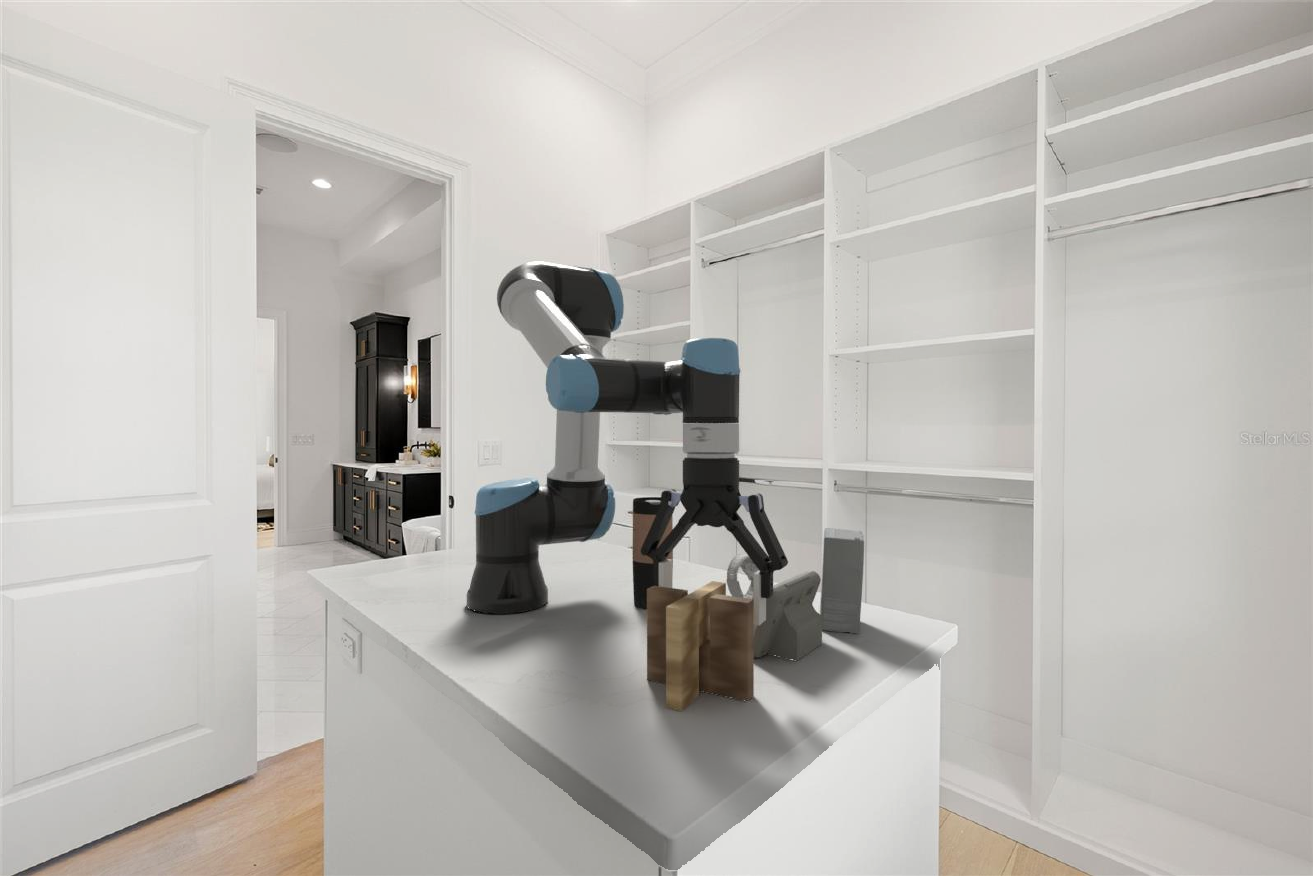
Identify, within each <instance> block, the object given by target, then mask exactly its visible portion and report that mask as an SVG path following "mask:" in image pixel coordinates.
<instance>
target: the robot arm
mask: <svg viewBox="0 0 1313 876" xmlns="http://www.w3.org/2000/svg"><path fill="white" fill-rule="evenodd" d="M496 302H497V306H498V310H499V313H500V314H501V317H502V318H503V319H504V321H505V322H506V323H507V324H508V325H509V327H511V328H513V329H515V330H516V331H519V332H521V333H520V334H522V335H523V337H524V339H526V341H527V343H528V344H529V345H530V347H531V348H532V349H533V351H534V352H535V353H536V355H537V356H538V357H539V359H540V361H541V362H542V363H543V364H544V366H545V367H546V368H547V370H546V375H545V391H546V394H547V400H548V402H549V404H550V405H551V407H552V408H554V409H555V410H556V420H555V421H556V422H555V425H556V427H555V451H554V452H555V453H554V454H555V456H554V466H553V468H552V469H551V470H550V471H549V472H547V474H546V484H545V485H544V484H543V485H542V484H541V485H540V482H539V481H538V479H537V478H531V477H529V478H521V479H520V478H519V479H517V478H516V479H509V480H504V481H498V482H493V483H489V484H485V485H484V486H482V487H480V489H479V490H478V491H477V493H476V495H475V496H476V498H475V499H476V500H475V510H474V515H475V555H476V556H475V566H474V569H473V574H472V577H471V581H470V584H469V588H468V589H467V592H466V607H467V606H468V607H469V608H470V609H473V610H475V611H479V612H478V613H480V612H485V613H484V614H488V613H494V614H493V615H505V613H508V614H515V613H517V612H518V613H523V612H522V611H524V612H528V611H527V610H529V611H532V610H531V609H533V610H535V609H538V607H539V608H541V607H543V606H544V605H543V604H545V605H546V604H547V603H548V602H549V590H548V589H549V588H548V586H547V584H546V582H545V578H544V575H543V571H542V568H541V565H540V560H539V559H540V558H539V556H540V555H539V548H540V546H544V545H555V544H565V543H574V542H580V543H585V542H588V541H593V540H597V539H598V540H599V539H600V538H602V537H604V536H605V535H606V534H607V533H608V531H609V530H610V529H611V526H612V524H613V522H614V518H615V512H616V497H614V495H615V492H614V490H613V488H612V486H611V485H610V484H609V483H608V482H606V475H605V474H604V473H603V472H602V471H601V470H600V468H599V450H600V449H599V446H600V445H599V443H600V427H601V426H600V421H601V413H631V414H632V413H634V414H637V413H638V414H653V415H664V416H667V415H671V414H680V413H681V414H682V452H683V454H686V456H687V457H684V458H683V459H682V485H683V486H682V487H683V489H682V492H681V491H680V492H679V491H677V490H676V489H667V490H664V491H663V490H662V492H661V495H660V497H661V503H660V508H659V510H658V512H657V515H656V517H655V519H654V521H653V523H652V526H651V528H650V530H649V532H648V534H647V537H646V539H645V541H644V543H643V545H642V548H641V554H642V555H644V556H648V557H650V558H651V559H652V560H653V572H654V573H653V575H654V576H653V580H654V583H655V584H659V586H660V587H668V588H673V575H672V560H671V559H667V560H666V558H667V557H669V556H668V555H669V554H670V552H671V551H672V550H673V551H674V549H675V548H676V547H677V546H678V544H679V543H680V542H681V540H682V539H683V538H684V536H685V535H687V533H688V532H689V530H690V529H692V527H693V526H694V525H696V526H697V527H704V526H710V527H713V528H720V527H723V526H724V528H725V529H726V531H728V532H730V533H731V535H732V536H733V537H734V538H735V540H736V541H737V542H738V544H739V545H740V546H741V548H742V549H743V551H744V552H745V553H746V555H747V554H748V556H749V557H750V559H751V560H752V561H753V563H754V564H755V565H756V567H757V568H758V569H759V571H757V572H755V573H754V625H758V626H759V625H761V624H762V623H763V622H764V621H765V620H766V598H767V599H768V598H770V597H771V596H772V594H773V586H774V573H775V571H781V570H783V568H785V567H786V566H788V564H789V561H788V558H787V556H786V553H785V551H784V549H783V547H782V544H781V543H780V541H779V539H778V537H777V533H775V532H776V531H774V530H775V529H774V528H773V526H772V523H771V522H770V519H769V518H768V515H767V513H766V511H765V503H764V496H763V495H762V493H760V492H759V493H754V494H751V495H741V493H740V460H738V458H737V457H736V455H735V454H738V453H739V452H740V424H739V423H740V376H741V375H740V373H741V368H740V360H739V359H740V357H739V346H738V344H737V343H736V342H735V341H733V340H732V339H729V338H723V337H722V338H721V337H701V338H700V337H699V338H693V339H688V340H686V341H685V343H684V345H683V346H682V353H681V359H679V360H674V361H673V360H672V361H659V360H645V359H644V360H642V359H641V360H639V359H627V358H617V357H616V358H614V357H606V356H604V355H603V349H604V347H605V346H606V345H607V344H608V343H609V342H610V341H611V337H612V333H613V332H616V331H617V330H618V329H619V328H620V326H621V324H622V320H623V318H624V317H623V316H624V310H625V306H624V305H625V304H624V295H623V292H622V288H621V285H620V283H619V282H618V281H617V279H616V277H615V276H614V275H613V274H611V273H610V272H607V271H604V270H599V269H595V268H593V267H592V268H591V267H590V268H589V267H581V266H574V265H573V266H571V265H567V264H566V265H565V264H558V263H551V262H546V261H545V262H544V261H530V262H527V263H526V262H525V263H523V264H521V265H518V266H516V267H514V268H513V269H511V270H509V272H508V273H506V275H505V276H504V277H503V279H501V282H500V284H499V286H498V289H497V293H496ZM680 504H681V505H682V507H683V508H684V509H685V512H684V513H683V514H682V516H681V517H680V518H679V519H678V521H677V522H676V523H677V524H675V526H673V530H672V531H671V532H670V533H669V535H668V536H667V537H666V538H665V540H664V541H663V542H662V543H661V544H660V546H659V547H658V545H659V543H660V540H661V538H662V536H663V534H664V532H665V530H666V527H667V525H668V523H669V521H670V519H671V516H672V517H673V514H674V512H675V509H676V507H678V506H679V505H680ZM741 506H743V507H744V509H745V511H746V512H748V513H749V516H750V518H751V521H752V523H753V525H754V528H755V530H756V533H757V534H758V537H759V538H760V540H761V543H762V545H763V547H764V548H763V547H762V546H761V545H760V543H759V542H758V541H757V540H756V538H755V537H754V535H753V534H752V533H751V531H750V530H749V529H748V528H747V526H746V525H745V521H744V520H743V519H742V517H741V516H740V514H739V513H738V511H739V509H740V508H741ZM657 547H658V548H657ZM764 549H765V550H764ZM547 601H548V602H547ZM546 602H547V603H546ZM542 605H543V606H542ZM540 606H541V607H540ZM470 609H469V610H470ZM475 611H474V612H475ZM495 613H496V614H495Z"/></svg>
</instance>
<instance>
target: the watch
mask: <svg viewBox="0 0 1313 876" xmlns="http://www.w3.org/2000/svg"><path fill="white" fill-rule="evenodd" d="M740 568H741V570H742V571H743V572H744V574H745V576H747V579H748V580H749V581H750V585H749V587H748V589H747V591H746V592H745V593H744V592H743V591H742V589H741V585H740V581H738V572H739V569H740ZM757 571H759V569H758V568H757V567H756V565H755V564H754V563H753V561H752V560H751V559H750V557H749V556H748V554H747V553H746V554H743V553H740V554H737V555H734V557H732V559H731V560H730V562H729V564H728V567H727V570H726V580H725V581H726V586H727V588H728V591H729V594H730V596H735V597H742V598H750V599H754V573H755V572H757Z"/></svg>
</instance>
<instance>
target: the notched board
mask: <svg viewBox="0 0 1313 876" xmlns="http://www.w3.org/2000/svg"><path fill="white" fill-rule="evenodd" d="M715 594H720V595H727V582H722V581H713V580H711V581H710V582H708V583H707V584H704V585H703V586H701V587H699V588H698V589H695V590H694V591H692V592H690V593H688V595H687V596H685V597H683V598H681V599H679V600H677V601H676V602H674V603H672V604H670V605H668V606H667V607H666V684H665V691H666V692H665V696H666V697H665V701H666V702H665V707H666V709H670V710H675V711H679V712H683V710H685V709H686V708H687V707H688V706H689V705H690V704H691V703H693V701H695V700H696V698H697V697H699V696H700V691H699V647H700V646H701V645H702V644H703V643H705V642H706V641H707V640H710V597H712V596H714V595H715Z"/></svg>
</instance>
